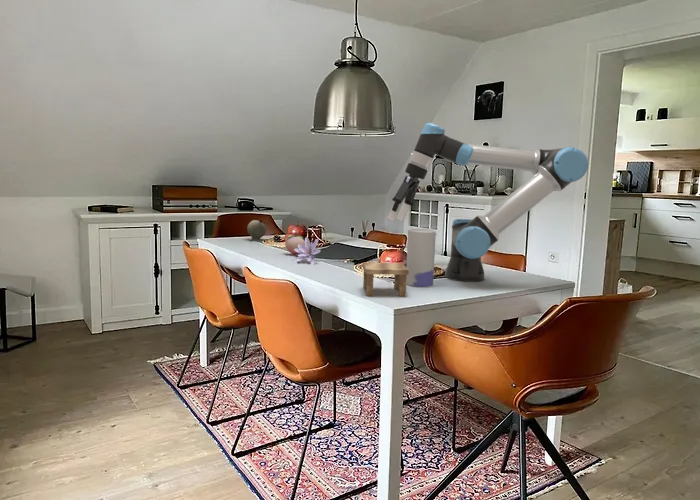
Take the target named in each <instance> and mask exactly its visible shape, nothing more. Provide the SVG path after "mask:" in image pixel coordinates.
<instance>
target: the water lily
mask: <svg viewBox="0 0 700 500" xmlns="http://www.w3.org/2000/svg"><path fill="white" fill-rule="evenodd" d="M304 242H305V246H304V245H302V244H298V248H295V249H294V250H295V251H296V252H298V254H297V258H296V259H294V261H293V263H297V262H301V261H304V260H305V259H306V258H307V261H308V262H309V263H310V264H311V265H313V266H314V265H315V263H316V261H315V260H316V259H315V256H314V255H316V254H317V255H318V254H319V253H320V252H321V249H316V247H317V246H318V244H319V238H317V239H315V240H314V242H313V241H310V239H309V238H308V237H307V236H306V237H305V238H304Z"/></svg>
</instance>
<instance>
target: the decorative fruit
mask: <svg viewBox="0 0 700 500" xmlns="http://www.w3.org/2000/svg"><path fill="white" fill-rule="evenodd" d="M298 244H302V245H304V246H305V238H304V237H303V236H302V235H297V234H296V233H295V234H294V235H289V236H287V237H286V238H285V243H284V246H285V248H286V250H287V251H288V252H289V253H291V254H293V255H294V256H295V255H299V253H298V252H296V251H295V250H294V249H295V248H298ZM305 247H306V246H305Z"/></svg>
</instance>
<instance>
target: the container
mask: <svg viewBox="0 0 700 500" xmlns="http://www.w3.org/2000/svg"><path fill="white" fill-rule="evenodd" d="M436 234H437V231H436V230H434V229H426V228H409V229H408V230H407V245H406V246H407V247H406V265H405V267H406V268H407V269H408V270H409V275H407V280H406V285H408V286H410V287H411V286H412V287H421V288H422V287H423V288H424V287H425V288H427V287H431V286H433V285H434V274H435V272H434V271H435V258H436V256H435V255H436V254H435V252H436Z"/></svg>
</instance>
